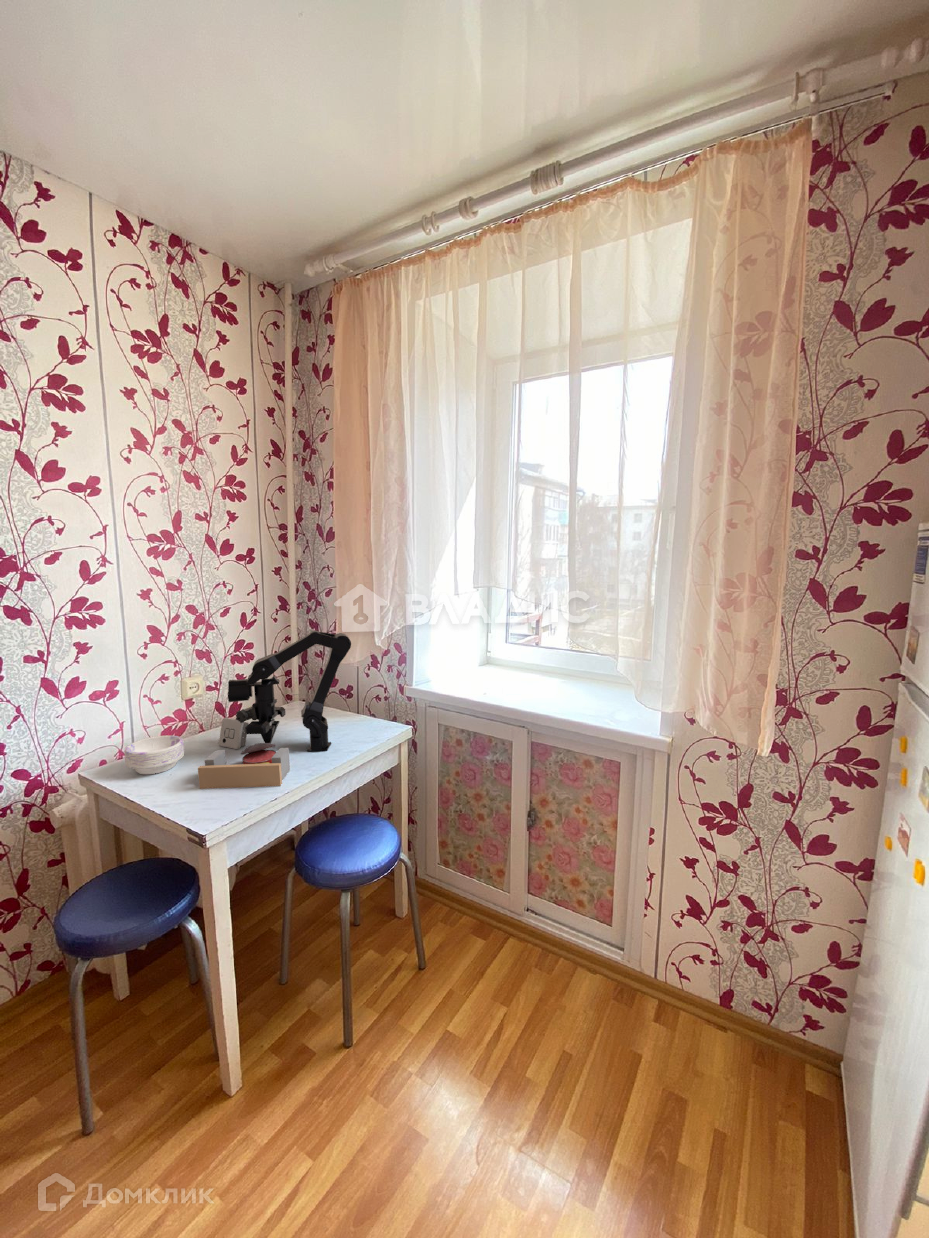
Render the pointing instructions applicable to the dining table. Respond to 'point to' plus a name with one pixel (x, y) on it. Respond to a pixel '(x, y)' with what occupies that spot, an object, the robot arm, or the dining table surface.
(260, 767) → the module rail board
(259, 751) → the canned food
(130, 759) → the paper bowls
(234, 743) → the electrical switch
